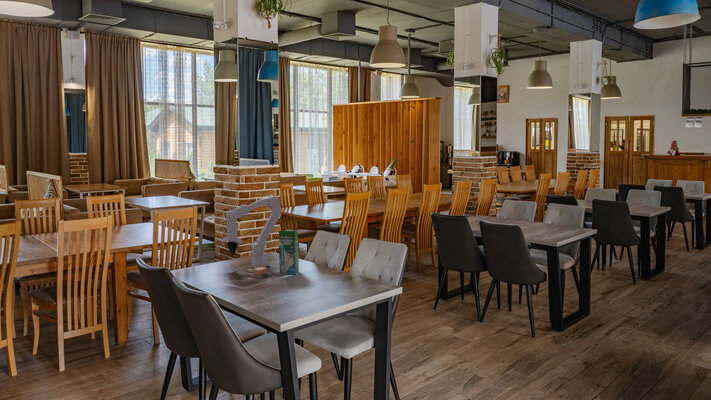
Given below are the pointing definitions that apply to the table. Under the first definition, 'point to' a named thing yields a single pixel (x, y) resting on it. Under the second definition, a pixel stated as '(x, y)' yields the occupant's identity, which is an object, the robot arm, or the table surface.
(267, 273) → the chute
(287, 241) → the milk carton
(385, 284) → the table surface
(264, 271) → the block
